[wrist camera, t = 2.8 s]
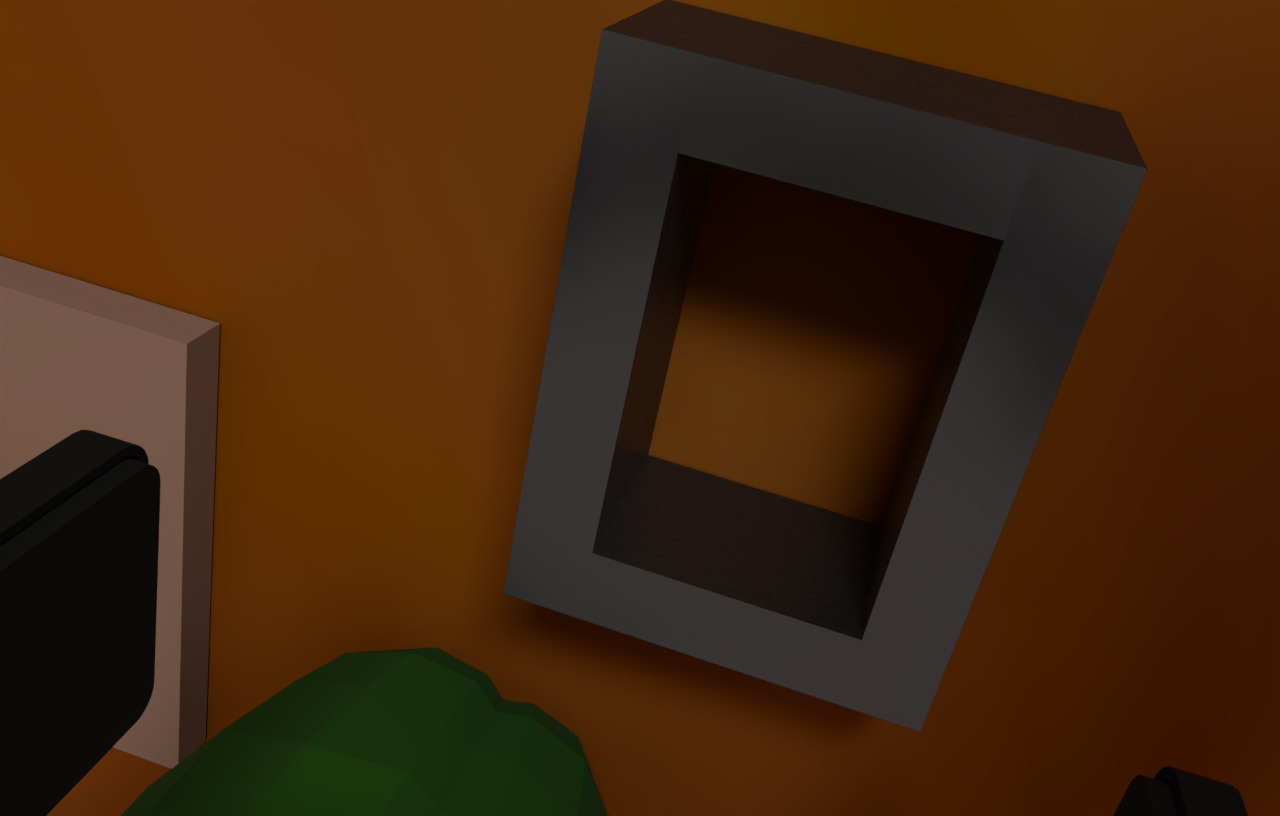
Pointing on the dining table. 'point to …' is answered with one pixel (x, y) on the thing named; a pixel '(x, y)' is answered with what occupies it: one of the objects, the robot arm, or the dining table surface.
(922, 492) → the dark grey rectangular frame
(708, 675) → the dining table surface
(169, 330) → the keeper
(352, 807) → the bell pepper
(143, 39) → the dining table surface
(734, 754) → the dining table surface
